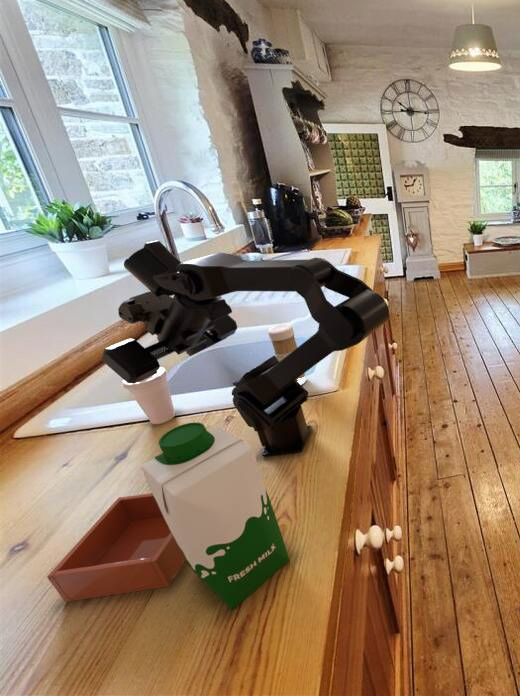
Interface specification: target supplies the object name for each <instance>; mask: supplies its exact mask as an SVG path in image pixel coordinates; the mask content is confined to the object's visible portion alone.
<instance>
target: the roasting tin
mask: <svg viewBox="0 0 520 696" xmlns="http://www.w3.org/2000/svg"><path fill="white" fill-rule="evenodd" d="M185 562H187V561H186V560H185V558H184V556H183V554H182V552H181V550H180V548H179V546H178V544H177V542H176V540H175V538H174V536H173V534H172V533H171V531H170V529H169V527H168V525H167V523H166V521H165V519H164V517H163V515H162V512H161V510H160V508H159V506H158V503H157V501H156V499H155V498H154V496H153V494H152V492H151V493H150V492H149V493H142V494H133V495H126V496H125V495H124V496H119V497H118V498H116V500H115V501H114V502H113V503H112V504H111V505H109V507H108V508H107V510H106V511H105V512H104V513H103V514H102V515H101V516H100V517H99V519H98V520H96V522H95V523H94V524H93V525H92V526H91V527H90V528H89V529H88V530H87V532H86V533H85V534H84V535H83V536H82V537H81V538H80V540H79V541H78V542H77V543H76V544H75V545H74V546H72V548H71V550H70V551H69V552H67V554H66V555H65V556H64V557H63V558H62V559H61V560H60V561H59V563H57V564H56V566H54V568H53V569H52V570H51V571H50V572H49V573H48V574H47V576H46V578H47V580H48V581H49V582H50V584H51V585H52V586H53V587H54V589H55V590H56V592H57V593H58V595H59V596H60V597H61V598H62V600H63V602H64V603H70V602H76V601H83V600H91V599H95V598H96V599H97V598H103V597H109V596H115V595H121V594H129V593H135V592H141V591H142V592H143V591H148V590H155V589H160V588H161V589H163V588H168V587H171V585H172V584H173V581H174V580H175V579H176V577H177V575H178V574H179V572H180V570H181V569H182V568H183V566H184V564H185Z"/></svg>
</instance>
